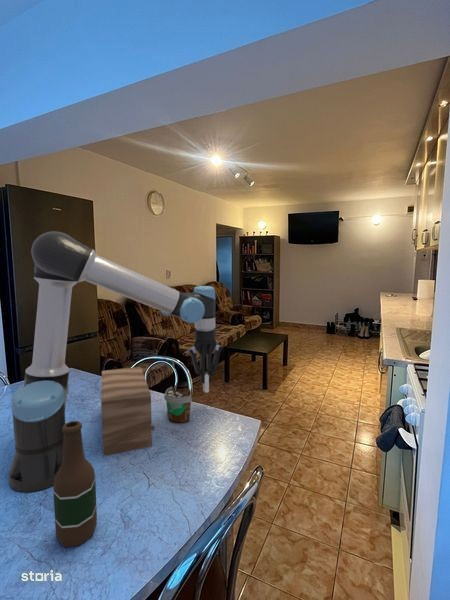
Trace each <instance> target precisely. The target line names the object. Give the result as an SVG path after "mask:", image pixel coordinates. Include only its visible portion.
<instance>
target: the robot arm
mask: <svg viewBox="0 0 450 600" xmlns="http://www.w3.org/2000/svg"><path fill="white" fill-rule="evenodd" d="M31 246H32V247H31V252H30V253H31V257H32V260H33V262H34V273H33V279H34V280H35V281H36V282H37V283H38V294H37V296H38V297H37V305H36V306H37V307H36V318H35V327H34V328H35V329H34V339H33V340H34V341H33V350H32V353H33V354H32V360H31V364H30V366H28V367H27V368H26V369H25V372H24V384H23V386H22V387H20V388H18V389H17V390H16V391H15V393H14V394H13V396H12V399H11V400H12V401H11V413H12V422H13V432H14V433H13V435H14V446H15V447H14V448H15V452H14V455H13V459H12V463H11V466H10V469H9V472H8V473H9V474H8V482H9V483H8V484H9V486H10V488H11V489H12V490H13V491H14V490H15V491H17V492H21V493H31V492H37V491H41V490H45V489H47V488H50V487H53V484H54V479H55V476H56V474H57V472H58V470H59V469H60V467H61V465H62V460H63V432H61V431H62V427H63V426H64V424H66V405H67V397H68V393H69V385H70V384H69V378H70V368H69V367H68V366H67V364H66V356H67V355H66V353H67V352H66V351H67V343H68V335H69V333H68V331H69V323H70V315H71V314H70V313H71V301H72V292H73V287H74V286H75V285H76V284H78V283H82V282H87V283H91V284H93V285H96V287H97V286H98V287H100V288H103V289H105V290H108V291H110V292H113V293H115V294H118V295H120V296H122V297H125V298H127V299H131V300H133V301H134V302H135V301H136V302H137V303H140V304H143V305H145V306H148V307H150V308H153V309H155V310H158V311H160V313H161V314H162V316H163V317H164V316H165V317H167V316H169V317H172V316H173V317H175V318H178V319H180V320H181V321H184V322H186V323H189V324H194V329H195V330H194V343H193V346H192V347H190V348H188V349H187V351H188V353H189V354H190V357H191V361H192V364H193V367H194V372H195V373H196V374H197V375H199V376H200V383H201V384H202V391H203V392H204V393H206V394H207V393H209V392H210V383H212V375H213V373H216V372H217V369H218V364H219V359H220V354H221V352H222V350H223V347H224V346H221V345H220V344H218V343H217V341H216V336H217V335H216V291H215V290H216V289H215V288H214V287H213V286H210V285H199V286H195V287H194V288H193V292H182V291H179V290H177V289H174V288H173V287H170V286H169V285H166V284H163V283H161V282H159V281H156V280H154V279H152V278H150V277H147V276H145V275H143V274H142V273H138V272H136V271H133V270H132V269H130V268H127V267H124V266H122V265H120V264H118V263H116V262H114V261H111V260H108V259H107V258H104V257H102V256H99V255H98V254H97V253H96V251H95V249H93V248H91V247H89V246H88V245H85V244H83V243H81V242H79V241H78V240H76V239H74V238H73V237H71V236H70V235H69V234H67V233H65V232H61V231H56V230H55V231H47V232H44V233H42V234H40V235H38V237H37V238H36V239H35V240H34V241H33V243H32V245H31ZM196 351H197V352H198V353H199V354H198V355H199V364H198V359H197V356H196V354H195V353H196ZM213 351H214V353H213ZM212 355H213V356H212ZM205 359H206V360H205ZM205 364H206V365H205ZM205 368H206V369H205Z"/></svg>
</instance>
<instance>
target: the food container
mask: <svg viewBox="0 0 450 600" xmlns="http://www.w3.org/2000/svg"><path fill="white" fill-rule="evenodd" d="M163 396H164V397H163V398H164V401H166V412H167V419H168V421H169V422H170V423H172V424H177V425H178V424H186V423H189V422H190V416H191V402H193V399H192V395H188V396H187V395H185V393H183V392H181V391H178V390H174V389H173V386H170V387H168V388H167V389H166V390H165V393H164V395H163Z"/></svg>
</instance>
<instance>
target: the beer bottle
mask: <svg viewBox="0 0 450 600" xmlns="http://www.w3.org/2000/svg"><path fill="white" fill-rule="evenodd" d="M82 428H83V425H82V423H81V422H80V421H78V420H72V421H69V422H65V424H64V426H63V427H62V431H61V432H63V460H62V465H61V467H60V469H59V470H58V472H57V474H56V476H55V479H54V484H53V486H52V487H53V489H52V490H53V491H52V493H53V494H52V495H53V507H54V523H55V524H54V526H55V535H56V539H57V541H58V542H59V543H60V544H61V546H62V547H63V548H74V547H80V546H81V545H82V544H83V543H84V544H85V543H86V541H88V540H90V539H91V538H92V537H93V535H94V534H95V533H94V532H95V529H96V526H97V524H98V520H97V518H98V511H97V508H98V507H97V490H96V486H97V485H96V473H95V469H94V467H93V465H92V463H91V462H90V461H89V460H88V459H87V458H86V456H85V453H84V451H85V450H84V446H83V445H84V444H83V437H82V436H83V435H82Z"/></svg>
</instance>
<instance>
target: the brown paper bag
mask: <svg viewBox="0 0 450 600" xmlns="http://www.w3.org/2000/svg"><path fill="white" fill-rule="evenodd" d="M145 377H146V376H145V374H144V371H143V368H142V367H141V366H135V367H134V366H132V367H125V368H117V369H107V370H101V394H100V395H101V396H100V400H101V401H100V402H101V403H100V405H101V430H102V431H101V432H102V434H101V435H102V452H103V453H102V455H103V457H106V456H110V455H115V454H116V455H117V454H120V453H121V454H122V453H125V452H131V451H136V450H140V449H141V450H142V449H145V448H150V447H153V438H152V437H153V435H152V434H153V432H152V425H153V424H152V422H153V421H152V395H151V391H150V389H149V386H148V383H147V380H146V378H145Z"/></svg>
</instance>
